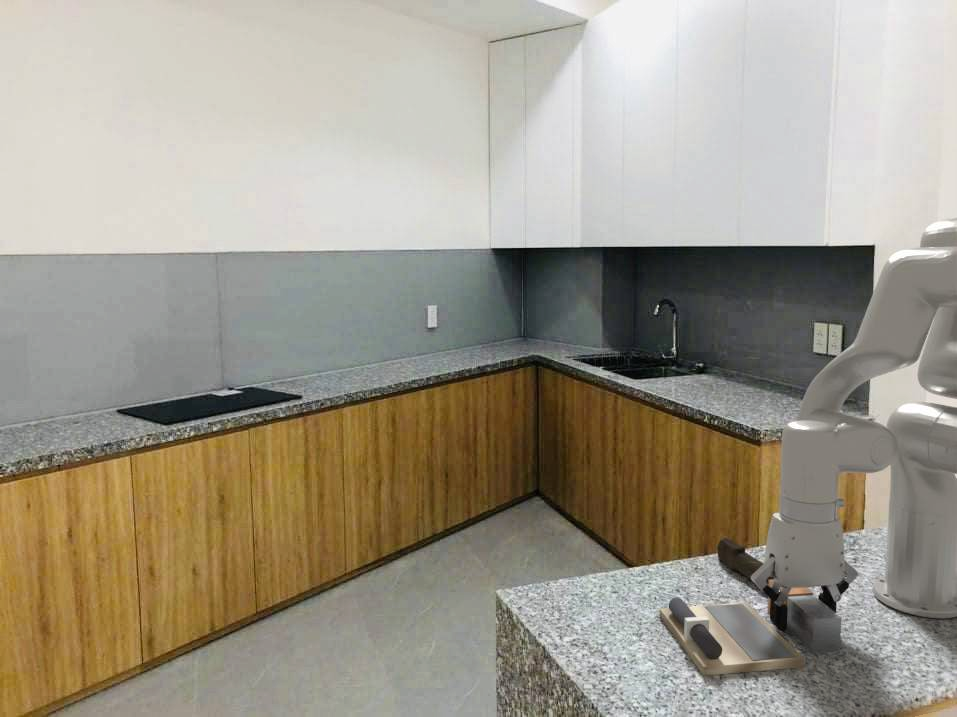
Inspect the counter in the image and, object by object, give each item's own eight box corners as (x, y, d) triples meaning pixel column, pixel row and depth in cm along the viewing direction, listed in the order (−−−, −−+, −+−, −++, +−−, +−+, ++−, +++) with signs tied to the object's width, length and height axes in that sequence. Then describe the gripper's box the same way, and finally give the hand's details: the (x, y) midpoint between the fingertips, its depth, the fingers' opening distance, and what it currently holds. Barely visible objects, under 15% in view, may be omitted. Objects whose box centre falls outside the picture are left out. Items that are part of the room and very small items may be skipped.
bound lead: (686, 614, 108) (686, 593, 107) (724, 662, 95) (725, 638, 95) (665, 616, 108) (666, 595, 107) (701, 663, 95) (702, 640, 94)
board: (746, 609, 111) (746, 601, 110) (804, 667, 95) (804, 657, 95) (659, 616, 109) (659, 608, 109) (703, 675, 93) (703, 666, 93)
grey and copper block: (793, 609, 110) (794, 578, 110) (840, 651, 99) (842, 616, 98) (767, 611, 110) (768, 579, 109) (811, 653, 98) (813, 618, 97)
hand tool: (803, 603, 113) (804, 576, 112) (781, 607, 112) (783, 579, 111) (731, 557, 131) (732, 533, 130) (712, 559, 130) (713, 535, 129)
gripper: (848, 496, 106) (842, 609, 109) (737, 502, 105) (733, 617, 107) (881, 513, 99) (874, 634, 101) (763, 520, 97) (758, 643, 100)
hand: (802, 624), depth 104 cm, fingers open, 6 cm apart
